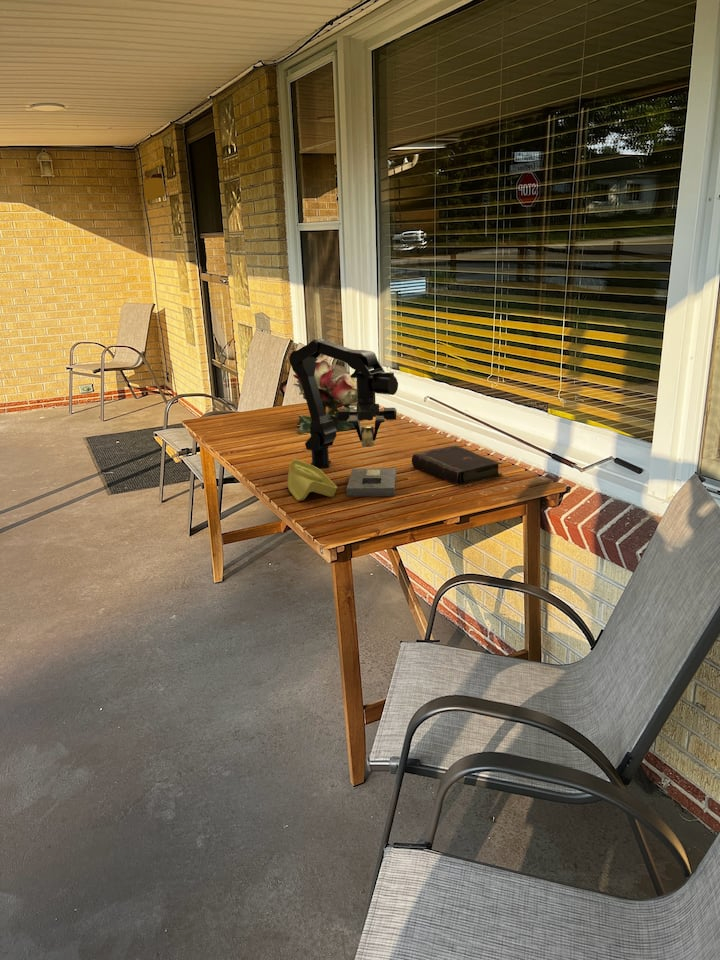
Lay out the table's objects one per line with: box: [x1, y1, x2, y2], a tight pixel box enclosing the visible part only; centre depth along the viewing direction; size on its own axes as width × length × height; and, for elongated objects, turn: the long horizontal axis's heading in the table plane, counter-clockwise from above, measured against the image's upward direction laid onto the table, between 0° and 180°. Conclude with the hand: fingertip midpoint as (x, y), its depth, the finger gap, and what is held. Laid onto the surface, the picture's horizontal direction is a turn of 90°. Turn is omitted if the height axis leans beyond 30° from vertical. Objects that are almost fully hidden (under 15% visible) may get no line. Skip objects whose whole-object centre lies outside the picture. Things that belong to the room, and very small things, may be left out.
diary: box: [411, 445, 504, 487], centre depth 234 cm, size 19×25×5 cm
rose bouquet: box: [292, 354, 357, 434], centre depth 297 cm, size 26×29×30 cm
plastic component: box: [287, 458, 338, 502], centre depth 221 cm, size 20×8×10 cm
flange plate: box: [346, 467, 397, 497], centre depth 223 cm, size 20×14×3 cm
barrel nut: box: [360, 425, 375, 448], centre depth 232 cm, size 4×4×6 cm
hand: (367, 440), depth 232 cm, fingers closed on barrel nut, 4 cm apart
